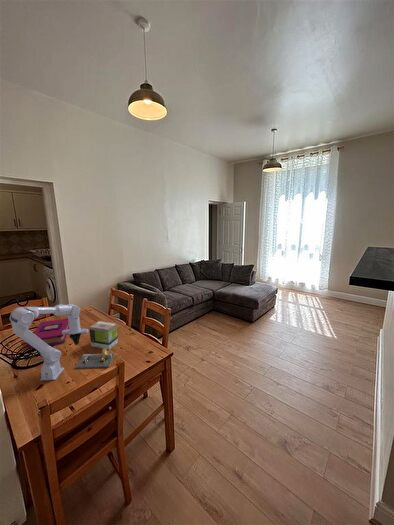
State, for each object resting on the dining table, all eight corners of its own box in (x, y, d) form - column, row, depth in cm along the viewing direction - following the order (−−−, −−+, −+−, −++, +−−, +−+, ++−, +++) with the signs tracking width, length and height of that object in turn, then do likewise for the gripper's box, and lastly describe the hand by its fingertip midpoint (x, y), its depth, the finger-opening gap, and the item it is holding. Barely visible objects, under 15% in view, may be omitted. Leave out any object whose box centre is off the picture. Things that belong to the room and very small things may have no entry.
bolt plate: (109, 367, 128) (108, 365, 128) (75, 368, 127) (75, 366, 126) (114, 355, 139) (114, 353, 139) (83, 356, 137) (83, 355, 137)
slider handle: (104, 361, 131) (104, 353, 130) (99, 361, 131) (99, 353, 130) (108, 354, 137) (107, 346, 136) (103, 354, 137) (102, 347, 136)
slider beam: (109, 361, 131) (108, 358, 131) (80, 362, 130) (79, 359, 130) (111, 356, 136) (111, 353, 136) (83, 357, 135) (83, 354, 135)
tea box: (118, 342, 154) (117, 323, 151) (109, 350, 145) (107, 330, 142) (100, 338, 158) (99, 320, 155) (90, 346, 148) (88, 326, 146)
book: (27, 349, 144) (26, 339, 143) (41, 330, 170) (39, 321, 169) (63, 344, 152) (62, 334, 150) (71, 325, 177) (70, 317, 176)
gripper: (89, 320, 135) (91, 339, 137) (65, 320, 133) (67, 340, 136) (84, 325, 128) (87, 346, 131) (59, 326, 127) (62, 347, 129)
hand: (76, 343), depth 133 cm, fingers closed
